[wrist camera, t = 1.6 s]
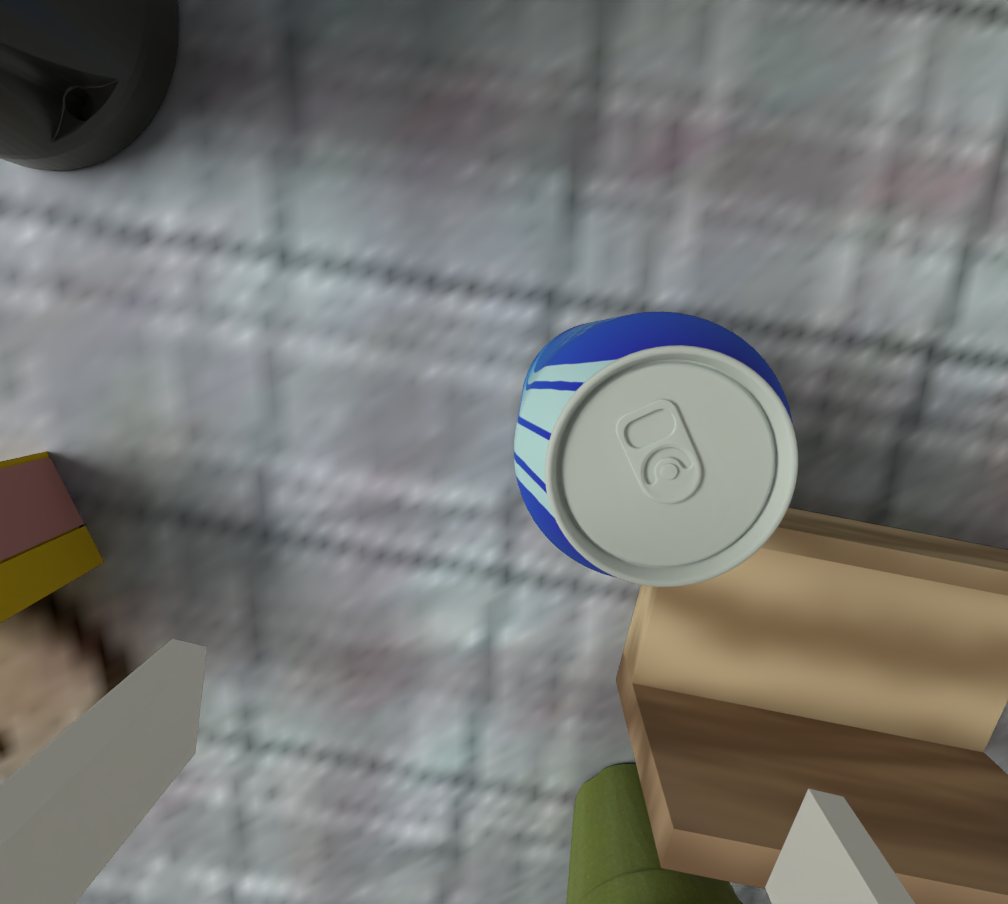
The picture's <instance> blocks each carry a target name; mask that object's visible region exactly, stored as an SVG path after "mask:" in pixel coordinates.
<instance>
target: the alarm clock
mask: <svg viewBox="0 0 1008 904" xmlns="http://www.w3.org/2000/svg"><path fill="white" fill-rule="evenodd" d="M48 456H49V454H48V452H42V453H38V454H33V455H29V456H24V457H20V458H15V459H11V460H6V461H2V462H0V623H1V622H3V621H4V620H6V619H8V618H9V617H11V616H13V615H15V614H16V613H18V612H20V611H21V610H23V609H25V608H27V607H28V606H30V605H32V604H33V603H35V602H37V601H39V600H40V599H42V598H44V597H45V596H47V595H49V594H51V593H52V592H54V591H56V590H57V589H59V588H61V587H63V586H64V585H66V584H68V583H69V582H71V581H73V580H75V579H76V578H78V577H80V576H81V575H83V574H85V573H87V572H88V571H90V570H92V569H93V568H95V567H97V566H99V565H100V564H102V563H104V561H103V559H102V557H101V555H100V553H99V551H98V549H97V547H96V545H95V543H94V541H93V539H92V537H91V536H90V534H89V532H88V530H87V528H86V526H83V527H80V528H79V526H80V525H83V524H84V522H83V520H82V518H81V516H80V514H79V512H78V510H77V508H76V506H75V505H74V503H73V501H72V499H71V497H70V495H69V493H68V491H67V489H66V487H65V485H64V483H63V481H62V479H61V477H60V476H59V474H58V472H57V470H56V468H55V466H54V464H53V462H52V460H51V458H49V457H48Z"/></svg>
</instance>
